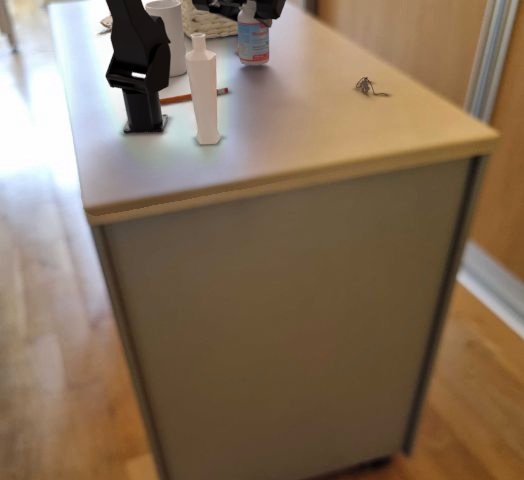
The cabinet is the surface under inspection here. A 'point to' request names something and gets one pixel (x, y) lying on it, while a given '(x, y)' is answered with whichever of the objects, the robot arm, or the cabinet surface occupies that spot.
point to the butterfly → (107, 22)
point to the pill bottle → (252, 37)
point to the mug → (171, 31)
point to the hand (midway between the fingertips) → (257, 23)
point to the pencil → (187, 96)
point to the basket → (205, 22)
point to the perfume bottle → (203, 89)
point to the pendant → (366, 85)
